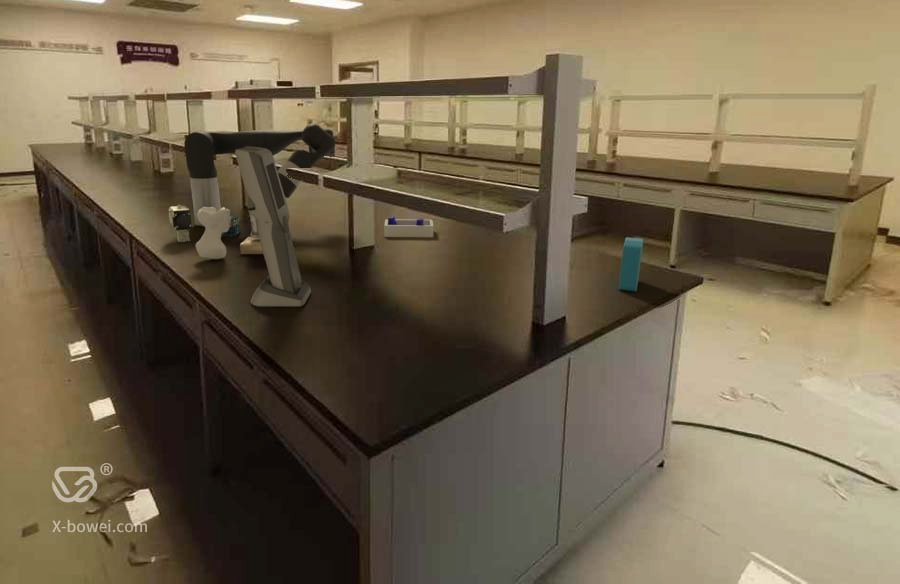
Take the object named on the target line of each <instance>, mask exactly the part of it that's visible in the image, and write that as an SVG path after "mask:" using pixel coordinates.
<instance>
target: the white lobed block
mask: <svg viewBox="0 0 900 584" xmlns="http://www.w3.org/2000/svg"><path fill="white" fill-rule="evenodd" d="M230 216H231V210H230V209H228V208H226V207H221V208H220V209H219V211H218V212H216V209H215V208H213V207H210V208H208V207H203V208H201V209H200V210H199V211H198V213H197V218H198V220H199V222H200V223H201V224H202V225H204V226H203V227H204V228H205V230H204V232H203V234H202V236H201V238H200V239H199V240H198V241H197V242H196V243H195V249H196V251H197V253H198V255H199V256H200V257H201V258H203V259H210V260H220V259H224V257H226V255H227V247H226V245H225V244H224V243H223V241H222V239H221V238H222V236H221V234H222V233H223V232H227V231H228V230H229V227H230V225H229V223H230V221H231V217H230Z"/></svg>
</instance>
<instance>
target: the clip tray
mask: <svg viewBox="0 0 900 584" xmlns="http://www.w3.org/2000/svg"><path fill="white" fill-rule="evenodd" d="M417 220H418V219H405V218H404V219H403V218H402V219H401V218H400V219H399V218H398V219H396V218H395V221H396V223H397V225H388V218H386V219H385V220H384V227H383V229H384V230H383V231H384V238H434V222H433V219H423V225H416V223H417Z"/></svg>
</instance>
